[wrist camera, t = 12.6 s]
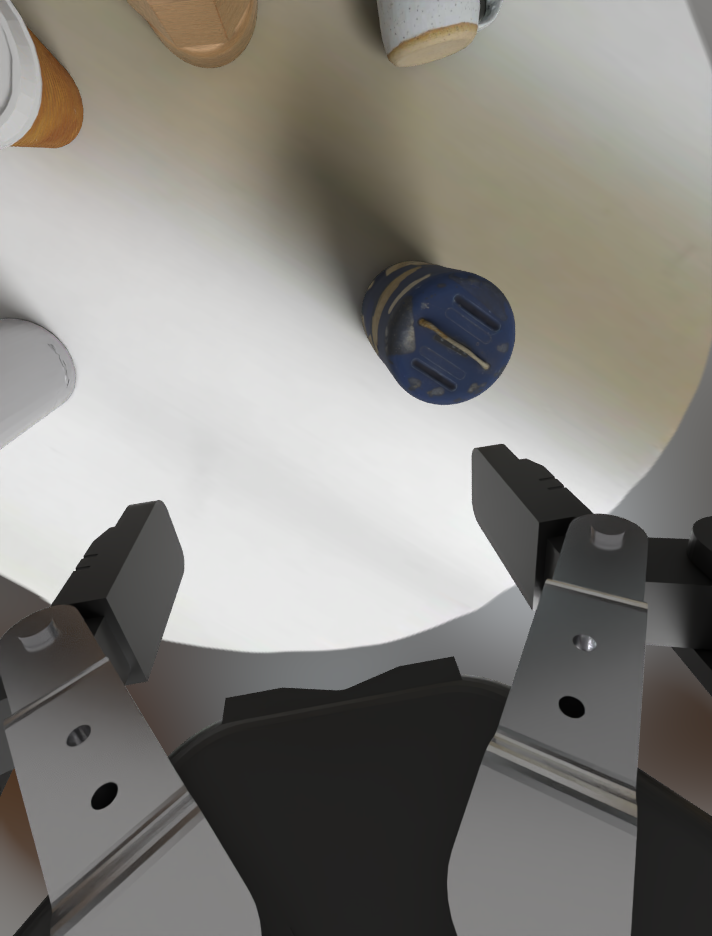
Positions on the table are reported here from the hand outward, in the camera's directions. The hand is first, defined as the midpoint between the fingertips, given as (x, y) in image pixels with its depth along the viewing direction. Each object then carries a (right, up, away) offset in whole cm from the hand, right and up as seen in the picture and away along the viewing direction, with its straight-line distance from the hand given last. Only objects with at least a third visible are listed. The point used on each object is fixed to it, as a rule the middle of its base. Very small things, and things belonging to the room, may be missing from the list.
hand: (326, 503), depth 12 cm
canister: (+6, +17, +35) cm, 40 cm away
